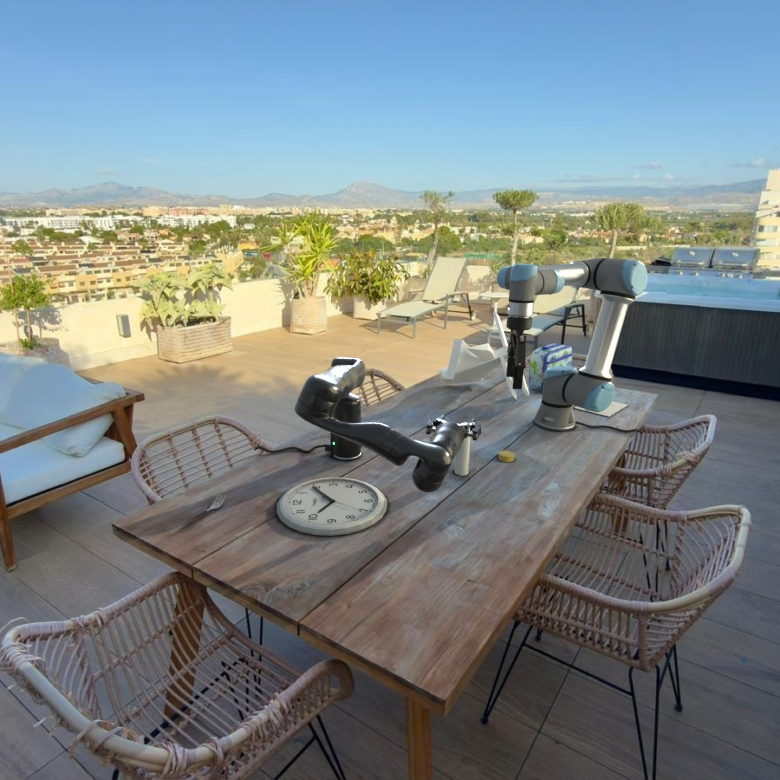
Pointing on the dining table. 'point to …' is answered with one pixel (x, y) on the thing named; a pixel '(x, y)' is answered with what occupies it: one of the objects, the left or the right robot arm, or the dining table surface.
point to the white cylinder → (463, 458)
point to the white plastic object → (478, 362)
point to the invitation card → (608, 409)
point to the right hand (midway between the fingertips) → (513, 382)
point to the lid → (506, 456)
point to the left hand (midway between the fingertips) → (458, 419)
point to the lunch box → (547, 362)
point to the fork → (213, 506)
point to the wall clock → (331, 506)
